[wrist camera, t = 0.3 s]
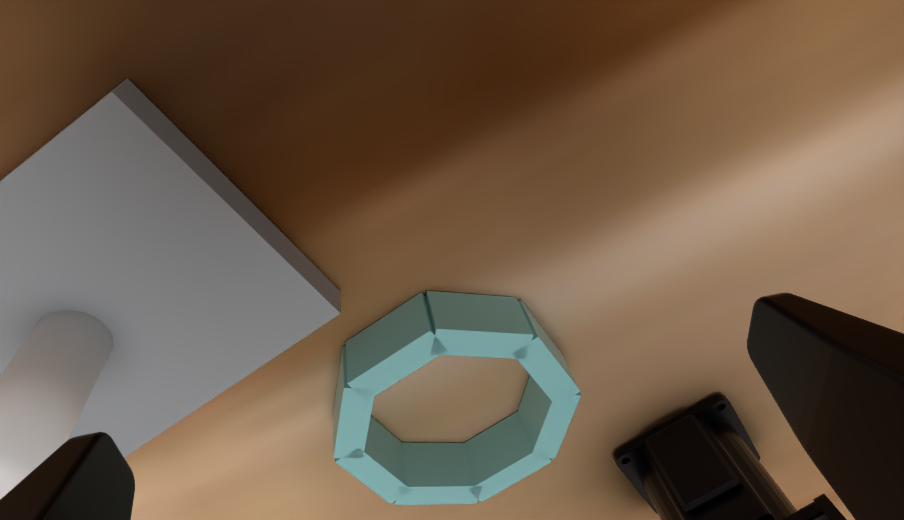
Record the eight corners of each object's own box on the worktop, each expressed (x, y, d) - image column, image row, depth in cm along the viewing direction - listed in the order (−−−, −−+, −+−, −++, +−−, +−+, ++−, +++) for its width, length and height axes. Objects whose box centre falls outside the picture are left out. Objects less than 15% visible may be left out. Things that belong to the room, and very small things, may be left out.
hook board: (340, 290, 23) (343, 439, 17) (62, 477, 25) (-27, 670, 19) (127, 77, 18) (14, 176, 11) (-196, 338, 20) (-438, 539, 14)
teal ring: (588, 389, 28) (609, 428, 26) (421, 487, 30) (428, 532, 28) (483, 251, 23) (499, 286, 21) (288, 378, 25) (284, 423, 23)
